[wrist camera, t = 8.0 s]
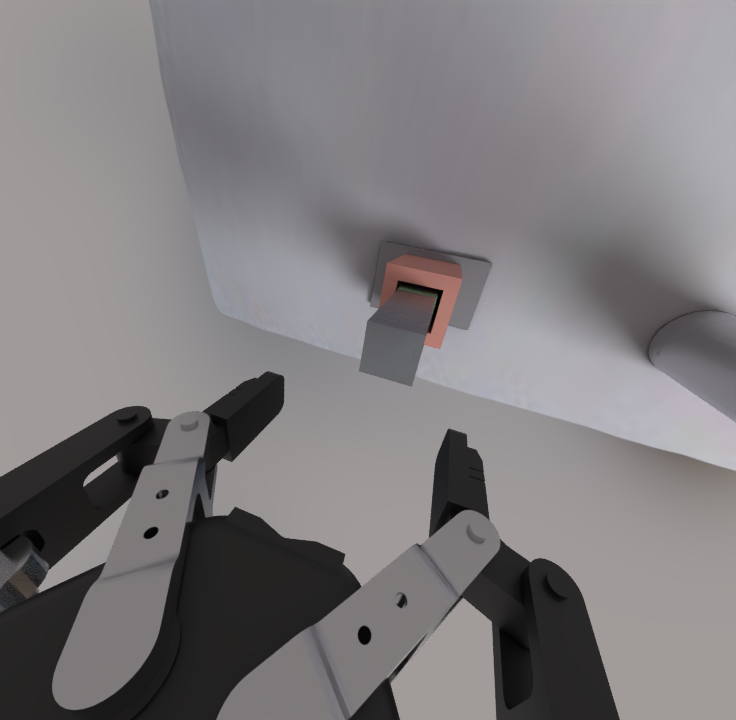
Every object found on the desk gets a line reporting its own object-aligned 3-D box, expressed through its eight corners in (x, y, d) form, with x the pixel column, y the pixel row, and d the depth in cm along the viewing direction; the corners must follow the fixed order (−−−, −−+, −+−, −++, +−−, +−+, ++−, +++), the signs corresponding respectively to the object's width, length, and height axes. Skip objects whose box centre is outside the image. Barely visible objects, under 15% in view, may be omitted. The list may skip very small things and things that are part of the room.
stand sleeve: (490, 262, 38) (509, 279, 25) (467, 327, 43) (472, 369, 30) (383, 240, 41) (350, 246, 28) (372, 304, 46) (339, 333, 33)
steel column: (440, 284, 33) (427, 335, 17) (431, 315, 35) (412, 387, 19) (408, 277, 34) (366, 319, 18) (401, 308, 36) (358, 371, 20)
